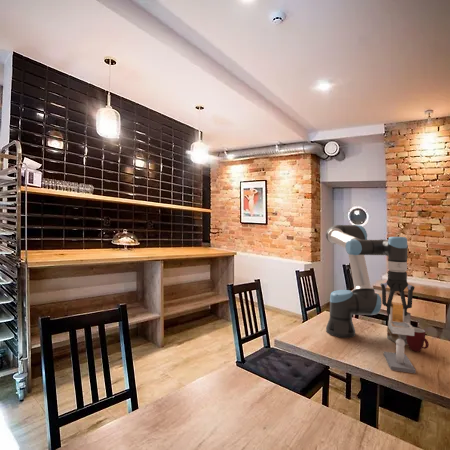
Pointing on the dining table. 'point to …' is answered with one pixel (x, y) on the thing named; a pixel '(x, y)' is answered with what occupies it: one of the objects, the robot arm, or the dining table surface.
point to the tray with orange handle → (399, 321)
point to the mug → (417, 340)
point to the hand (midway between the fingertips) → (396, 321)
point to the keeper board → (399, 366)
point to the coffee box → (398, 336)
